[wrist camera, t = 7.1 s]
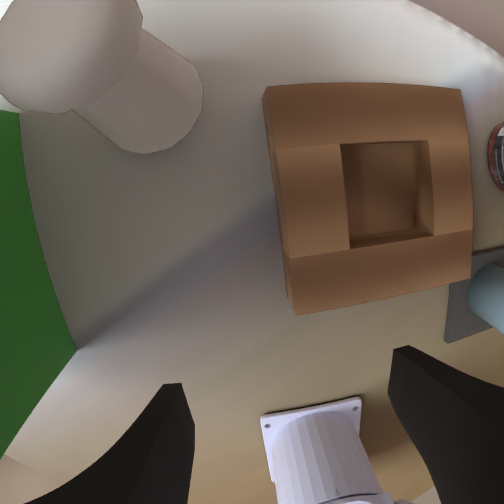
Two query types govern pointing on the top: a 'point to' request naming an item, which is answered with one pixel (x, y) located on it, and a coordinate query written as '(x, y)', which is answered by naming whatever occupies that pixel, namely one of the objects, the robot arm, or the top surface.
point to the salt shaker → (98, 70)
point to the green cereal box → (24, 297)
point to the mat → (459, 313)
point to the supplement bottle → (497, 155)
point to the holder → (369, 190)
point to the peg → (488, 295)
